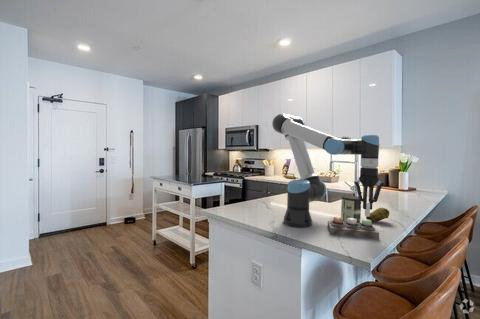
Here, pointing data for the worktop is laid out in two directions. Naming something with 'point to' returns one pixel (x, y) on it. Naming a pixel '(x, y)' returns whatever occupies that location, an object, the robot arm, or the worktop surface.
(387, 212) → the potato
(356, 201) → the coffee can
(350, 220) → the button cream
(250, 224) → the worktop surface
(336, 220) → the button terracotta
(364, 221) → the button sage
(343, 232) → the button board
